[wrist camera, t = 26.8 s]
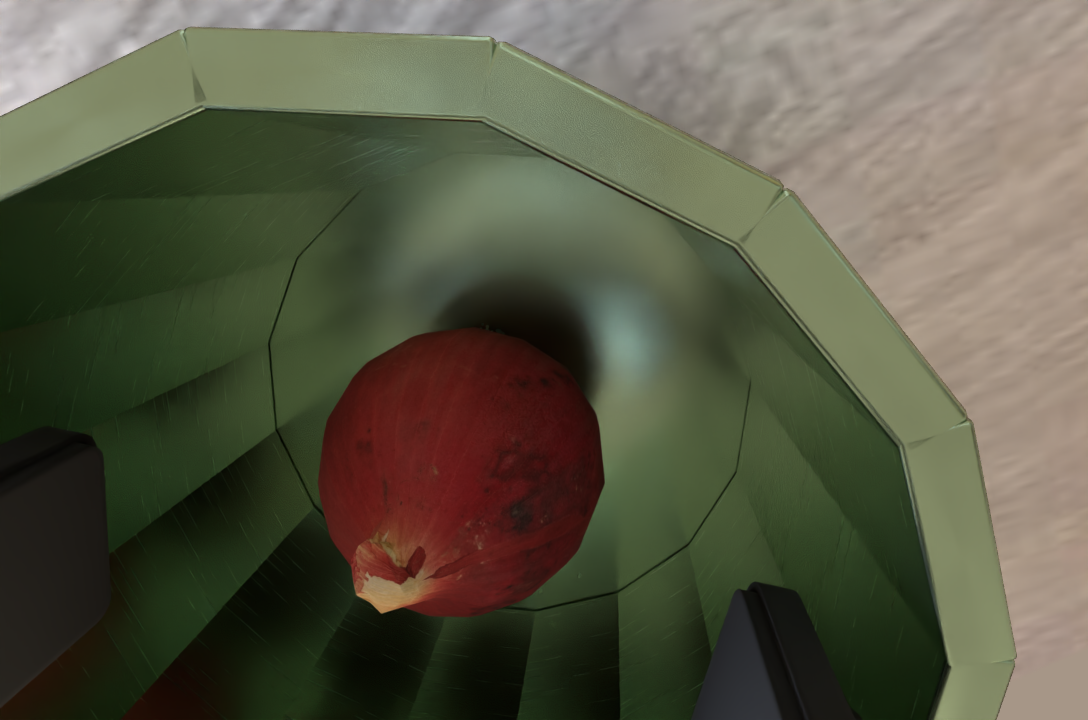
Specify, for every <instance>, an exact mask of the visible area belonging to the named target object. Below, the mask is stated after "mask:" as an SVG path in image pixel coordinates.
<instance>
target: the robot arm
mask: <svg viewBox="0 0 1088 720" xmlns="http://www.w3.org/2000/svg"><path fill="white" fill-rule="evenodd" d="M110 601H111V582H110V563H109V545H108V527H107V508H106V490H105V472H104V457H103V453H102V451H101V450H100V449H99V448H97V446H96V442H95V441H94V439H93V438H92V437H91V436H89V435H87V434H83V433H78V432H74V431H69V430H65V429H60V428H56V427H48V426H44V427H41V428H37V429H35V430H33V431H30V432H28V433H26V434H24V435H21V436H19V437H17V438H15V439H12V440H10V441H8V442H6V443H3V444H1V445H0V708H1V707H2V706H3V705H4V704H5V703H7V702H8V701H9V700H10V699H11V698H12V697H13V696H15V695H16V694H17V693H18V692H19V691H20V690H21V689H23V688H24V687H25V686H26V685H27V684H28V683H29V682H31V681H32V680H33V679H34V678H35V677H36V676H37V675H39V674H40V673H41V672H42V671H43V670H44V669H45V668H47V667H48V666H49V665H50V664H51V663H52V662H53V661H55V660H56V659H57V658H58V657H59V656H60V655H61V654H63V653H64V652H65V651H66V650H67V649H68V648H69V647H71V646H72V645H73V644H74V643H75V642H76V641H77V640H79V639H80V638H81V637H82V636H83V635H84V634H85V633H87V632H88V631H89V630H90V629H91V628H92V627H93V626H95V625H96V624H97V623H98V622H99V621H100V620H101V618H102V617H103V616H104V614H105V613H106V611H107V609H108V607H109V604H110ZM691 720H862V719H861V717H860V715H859V714H858V713H857V712H856V711H855V710H853V709H852V708H851V707H849V705H848V703H847V700H846V698H845V696H844V694H843V691H842V689H841V687H840V685H839V682H838V680H837V678H836V676H835V673H834V671H833V669H832V667H831V664H830V662H829V660H828V658H827V656H826V653H825V651H824V649H823V647H822V644H821V642H820V640H819V638H818V635H817V633H816V631H815V629H814V626H813V624H812V622H811V620H810V618H809V615H808V613H807V611H806V609H805V606H804V604H803V602H802V600H801V597H800V596H799V594H798V593H797V592H796V591H794V590H792V589H787V588H783V587H778V586H773V585H769V584H764V583H760V582H752V583H751V584H750V585H749V587H748V589H747V591H746V590H742V589H737V590H736V591H735V592H734V594H733V597H732V599H731V602H730V605H729V608H728V611H727V614H726V617H725V620H724V623H723V626H722V629H721V632H720V635H719V638H718V641H717V644H716V647H715V650H714V653H713V656H712V659H711V661H710V664H709V667H708V670H707V673H706V676H705V679H704V682H703V685H702V688H701V691H700V694H699V697H698V700H697V703H696V706H695V709H694V712H693V715H692V718H691Z"/></svg>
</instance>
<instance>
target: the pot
mask: <svg viewBox="0 0 1088 720" xmlns="http://www.w3.org/2000/svg"><path fill="white" fill-rule="evenodd" d="M471 327H477V328H481V329H485V330H489V331H493V332H496V333H500V334H504V335H508V336H512V337H516V338H520V339H523V340H525V341H527V342H528V343H530V344H531V345H533V346H534V347H536V348H537V349H539V350H541V351H542V352H544V353H545V354H547V355H548V356H550V357H551V358H553V359H555V360H556V361H558V362H559V363H561V364H562V365H564V366H565V367H567V368H568V370H569V371H570V373H571V374H572V376H573V377H574V379H575V381H576V382H577V384H578V385H579V387H580V388H581V390H582V392H583V393H584V395H585V396H586V398H587V400H588V401H589V403H590V404H591V406H592V407H593V409H594V411H595V412H596V415H597V419H598V423H599V428H600V438H601V448H602V457H603V467H604V477H605V485H604V487H603V490H602V492H601V495H600V497H599V500H598V502H597V505H596V507H595V510H594V512H593V515H592V517H591V520H590V523H589V525H588V528H587V530H586V533H585V535H584V538H583V540H582V543H581V545H580V548H579V550H578V551H577V553H576V554H575V555H574V556H573V557H572V558H571V559H570V561H569V562H568V563H567V564H566V565H565V566H564V567H563V568H561V569H560V570H559V571H558V572H557V573H556V574H555V575H553V576H552V577H551V578H550V579H549V580H548V581H547V582H545V583H544V584H543V585H542V586H541V587H540V588H539V589H538V590H536V591H535V592H534V593H533V594H532V595H530V596H528V597H526V598H525V599H523V600H521V601H519V602H517V603H514V604H511V605H508V606H505V607H502V608H500V609H497V610H494V611H491V612H488V613H485V614H483V615H479V616H473V617H440V616H428V615H424V614H421V613H418V612H416V611H413V610H410V609H407V608H404V607H401V608H398V609H395V610H391V611H388V612H385V613H382V614H381V613H380V612H379V611H378V610H377V609H376V608H375V607H374V606H373V605H372V604H371V603H370V602H368V601H367V600H365V599H363V598H361V597H359V596H357V595H356V592H355V587H354V583H353V577H352V567H351V566H350V564H349V563H348V562H347V560H346V559H345V558H344V556H343V555H342V554H341V552H340V551H339V549H338V548H337V547H336V545H335V544H334V542H333V541H332V539H331V537H330V535H329V531H328V527H327V523H326V519H325V515H324V511H323V507H322V503H321V499H320V495H319V487H318V477H319V469H320V461H321V452H322V444H323V437H324V432H325V427H326V422H327V419H328V417H329V416H330V414H331V412H332V411H333V409H334V408H335V406H336V404H337V403H338V401H339V399H340V398H341V396H342V395H343V393H344V391H345V390H346V388H347V386H348V385H349V383H350V382H351V380H352V378H353V377H354V375H355V374H356V373H357V372H358V371H359V370H360V369H361V368H362V367H363V366H364V365H365V364H366V363H367V362H368V361H370V360H372V359H374V358H375V357H377V356H379V355H381V354H382V353H384V352H386V351H388V350H389V349H391V348H393V347H395V346H397V345H398V344H400V343H402V342H404V341H405V340H407V339H409V338H411V337H412V336H416V335H420V334H423V333H427V332H436V331H445V330H453V329H462V328H471ZM44 426H48V427H56V428H60V429H65V430H69V431H74V432H78V433H83V434H87V435H89V436H91V437H92V438H93V439H94V441H95V442H96V446H97V448H99V449H100V450H101V451H102V453H103V457H104V472H105V490H106V508H107V527H108V545H109V563H110V582H111V601H110V604H109V607H108V609H107V611H106V613H105V614H104V616H103V617H102V618H101V620H100V621H99V622H98V623H97V624H96V625H95V626H93V627H92V628H91V629H90V630H89V631H88V632H87V633H85V634H84V635H83V636H82V637H81V638H80V639H79V640H77V641H76V642H75V643H74V644H73V645H72V646H71V647H69V648H68V649H67V650H66V651H65V652H64V653H63V654H61V655H60V656H59V657H58V658H57V659H56V660H55V661H53V662H52V663H51V664H50V665H49V666H48V667H47V668H45V669H44V670H43V671H42V672H41V673H40V674H39V675H37V676H36V677H35V678H34V679H33V680H32V681H31V682H29V683H28V684H27V685H26V686H25V687H24V688H23V689H21V690H20V691H19V692H18V693H17V694H16V695H15V696H13V697H12V698H11V699H10V700H9V701H8V702H7V703H5V704H4V705H3V706H2V707H1V708H0V720H691V718H692V715H693V712H694V709H695V706H696V703H697V700H698V697H699V694H700V691H701V688H702V685H703V682H704V679H705V676H706V673H707V670H708V667H709V664H710V661H711V659H712V656H713V653H714V650H715V647H716V644H717V641H718V638H719V635H720V632H721V629H722V626H723V623H724V620H725V617H726V614H727V611H728V608H729V605H730V602H731V599H732V597H733V594H734V592H735V591H736V590H737V589H742V590H746V591H747V589H748V587H749V585H750V584H751V583H752V582H760V583H764V584H769V585H773V586H778V587H783V588H787V589H792V590H794V591H796V592H797V593H798V594H799V596H800V597H801V600H802V602H803V604H804V606H805V609H806V611H807V613H808V615H809V618H810V620H811V622H812V624H813V626H814V629H815V631H816V633H817V635H818V638H819V640H820V642H821V644H822V647H823V649H824V651H825V653H826V656H827V658H828V660H829V662H830V664H831V667H832V669H833V671H834V673H835V676H836V678H837V680H838V682H839V685H840V687H841V689H842V691H843V694H844V696H845V698H846V700H847V703H848V705H849V707H851V708H852V709H853V710H855V711H856V712H857V713H858V714H859V715H860V717H861V719H862V720H996V719H997V716H998V713H999V711H1000V708H1001V705H1002V702H1003V699H1004V696H1005V693H1006V690H1007V687H1008V684H1009V682H1010V679H1011V676H1012V673H1013V670H1014V667H1015V661H1014V659H1016V657H1017V654H1016V649H1015V643H1014V638H1013V633H1012V627H1011V622H1010V617H1009V611H1008V606H1007V601H1006V595H1005V590H1004V584H1003V579H1002V574H1001V568H1000V563H999V558H998V552H997V547H996V542H995V536H994V531H993V526H992V520H991V515H990V509H989V504H988V499H987V493H986V488H985V483H984V477H983V472H982V467H981V461H980V456H979V450H978V445H977V440H976V434H975V429H974V424H973V422H972V421H971V419H969V418H968V416H967V413H966V410H965V409H964V407H963V406H962V405H961V403H960V402H959V401H958V400H957V398H956V397H955V396H954V395H953V393H952V392H951V391H950V389H949V388H948V387H947V386H946V384H945V383H944V382H943V381H942V379H941V378H940V377H939V375H938V374H937V373H936V372H935V370H934V369H933V368H932V367H931V365H930V364H929V363H928V361H927V360H926V359H925V358H924V356H923V355H922V354H921V353H920V351H919V350H918V349H917V348H916V346H915V345H914V344H913V342H912V341H911V340H910V339H909V337H908V336H907V335H906V334H905V332H904V331H903V330H902V328H901V327H900V326H899V325H898V323H897V322H896V321H895V320H894V318H893V317H892V316H891V314H890V313H889V312H888V311H887V309H886V308H885V307H884V306H883V304H882V303H881V302H880V300H879V299H878V298H877V297H876V295H875V294H874V293H873V292H872V290H871V289H870V288H869V287H868V285H867V284H866V283H865V281H864V280H863V279H862V278H861V276H860V275H859V274H858V273H857V271H856V270H855V269H854V267H853V266H852V265H851V264H850V262H849V261H848V260H847V259H846V257H845V256H844V255H843V253H842V252H841V251H840V250H839V248H838V247H837V246H836V245H835V243H834V242H833V241H832V239H831V238H830V237H829V236H828V234H827V233H826V232H825V231H824V229H823V228H822V227H821V226H820V224H819V223H818V222H817V220H816V219H815V218H814V217H813V215H812V214H811V213H810V212H809V210H808V209H807V208H806V206H805V205H804V204H803V203H802V201H801V200H800V199H799V198H798V196H797V195H796V194H795V192H794V191H792V190H790V189H788V188H784V185H783V184H782V183H781V182H780V180H778V179H776V178H774V177H772V176H770V175H769V174H767V173H765V172H763V171H761V170H759V169H757V168H755V167H753V166H751V165H749V164H747V163H745V162H743V161H741V160H739V159H737V158H735V157H733V156H731V155H729V154H727V153H725V152H723V151H721V150H719V149H717V148H715V147H713V146H711V145H709V144H707V143H705V142H703V141H701V140H699V139H697V138H695V137H693V136H691V135H689V134H687V133H685V132H683V131H681V130H679V129H677V128H675V127H673V126H671V125H669V124H667V123H665V122H663V121H662V120H660V119H658V118H656V117H654V116H652V115H650V114H648V113H646V112H644V111H642V110H640V109H638V108H636V107H634V106H632V105H630V104H628V103H626V102H624V101H622V100H620V99H618V98H616V97H614V96H612V95H610V94H608V93H606V92H604V91H602V90H600V89H598V88H596V87H594V86H592V85H590V84H588V83H586V82H584V81H582V80H580V79H578V78H576V77H574V76H572V75H570V74H568V73H566V72H564V71H562V70H560V69H558V68H557V67H555V66H553V65H551V64H549V63H547V62H545V61H543V60H541V59H539V58H537V57H535V56H533V55H531V54H529V53H527V52H525V51H523V50H521V49H519V48H517V47H515V46H513V45H511V44H509V43H507V42H496V40H495V39H494V38H492V37H490V36H465V35H434V34H403V33H372V32H341V31H309V30H278V29H247V28H216V27H189V28H186V29H185V30H177V31H175V32H173V33H171V34H169V35H167V36H165V37H163V38H161V39H159V40H156V41H154V42H152V43H150V44H148V45H146V46H144V47H142V48H140V49H138V50H136V51H134V52H132V53H130V54H128V55H126V56H123V57H121V58H119V59H117V60H115V61H113V62H111V63H109V64H107V65H105V66H103V67H101V68H99V69H97V70H95V71H93V72H91V73H88V74H86V75H84V76H82V77H80V78H78V79H76V80H74V81H72V82H70V83H68V84H66V85H64V86H62V87H60V88H58V89H56V90H53V91H51V92H49V93H47V94H45V95H43V96H41V97H39V98H37V99H35V100H33V101H31V102H29V103H27V104H25V105H23V106H21V107H18V108H16V109H14V110H12V111H10V112H8V113H6V114H4V115H2V116H0V445H1V444H3V443H6V442H8V441H10V440H12V439H15V438H17V437H19V436H21V435H24V434H26V433H28V432H30V431H33V430H35V429H37V428H41V427H44Z"/></svg>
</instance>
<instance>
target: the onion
mask: <svg viewBox="0 0 1088 720" xmlns="http://www.w3.org/2000/svg"><path fill="white" fill-rule="evenodd" d="M604 485H605V477H604V467H603V457H602V448H601V438H600V428H599V423H598V419H597V415H596V412H595V411H594V409H593V407H592V406H591V404H590V403H589V401H588V400H587V398H586V396H585V395H584V393H583V392H582V390H581V388H580V387H579V385H578V384H577V382H576V381H575V379H574V377H573V376H572V374H571V373H570V371H569V370H568V368H567V367H565V366H564V365H562V364H561V363H559V362H558V361H556V360H555V359H553V358H551V357H550V356H548V355H547V354H545V353H544V352H542V351H541V350H539V349H537V348H536V347H534V346H533V345H531V344H530V343H528V342H527V341H525V340H523V339H520V338H516V337H512V336H508V335H504V334H500V333H496V332H493V331H489V330H485V329H481V328H477V327H471V328H462V329H453V330H445V331H436V332H427V333H423V334H420V335H416V336H412V337H411V338H409V339H407V340H405V341H404V342H402V343H400V344H398V345H397V346H395V347H393V348H391V349H389V350H388V351H386V352H384V353H382V354H381V355H379V356H377V357H375V358H374V359H372V360H370V361H368V362H367V363H366V364H365V365H364V366H363V367H362V368H361V369H360V370H359V371H358V372H357V373H356V374H355V375H354V377H353V378H352V380H351V382H350V383H349V385H348V386H347V388H346V390H345V391H344V393H343V395H342V396H341V398H340V399H339V401H338V403H337V404H336V406H335V408H334V409H333V411H332V412H331V414H330V416H329V417H328V419H327V422H326V427H325V432H324V437H323V444H322V452H321V461H320V469H319V477H318V487H319V495H320V499H321V503H322V507H323V511H324V515H325V519H326V523H327V527H328V531H329V535H330V537H331V539H332V541H333V542H334V544H335V545H336V547H337V548H338V549H339V551H340V552H341V554H342V555H343V556H344V558H345V559H346V560H347V562H348V563H349V564H350V566H351V567H352V577H353V583H354V587H355V592H356V595H357V596H359V597H361V598H363V599H365V600H367V601H368V602H370V603H371V604H372V605H373V606H374V607H375V608H376V609H377V610H378V611H379V612H380V613H381V614H382V613H385V612H388V611H391V610H395V609H398V608H401V607H404V608H407V609H410V610H413V611H416V612H418V613H421V614H424V615H428V616H440V617H473V616H479V615H483V614H485V613H488V612H491V611H494V610H497V609H500V608H502V607H505V606H508V605H511V604H514V603H517V602H519V601H521V600H523V599H525V598H526V597H528V596H530V595H532V594H533V593H534V592H535V591H536V590H538V589H539V588H540V587H541V586H542V585H543V584H544V583H545V582H547V581H548V580H549V579H550V578H551V577H552V576H553V575H555V574H556V573H557V572H558V571H559V570H560V569H561V568H563V567H564V566H565V565H566V564H567V563H568V562H569V561H570V559H571V558H572V557H573V556H574V555H575V554H576V553H577V551H578V550H579V548H580V545H581V543H582V540H583V538H584V535H585V533H586V530H587V528H588V525H589V523H590V520H591V517H592V515H593V512H594V510H595V507H596V505H597V502H598V500H599V497H600V495H601V492H602V490H603V487H604Z"/></svg>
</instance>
